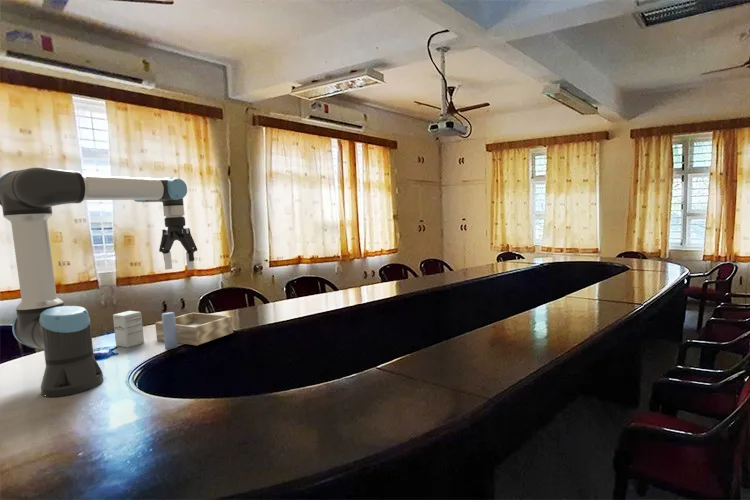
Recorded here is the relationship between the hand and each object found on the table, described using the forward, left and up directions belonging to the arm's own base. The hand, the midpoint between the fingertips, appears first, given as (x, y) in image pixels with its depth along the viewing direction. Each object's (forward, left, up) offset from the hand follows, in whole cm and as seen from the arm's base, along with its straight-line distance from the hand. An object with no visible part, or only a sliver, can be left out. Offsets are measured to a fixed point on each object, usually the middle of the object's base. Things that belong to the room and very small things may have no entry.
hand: (179, 269), depth 175 cm
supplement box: (-15, +14, -28) cm, 35 cm away
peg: (-12, -7, -28) cm, 31 cm away
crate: (+2, -3, -28) cm, 28 cm away
